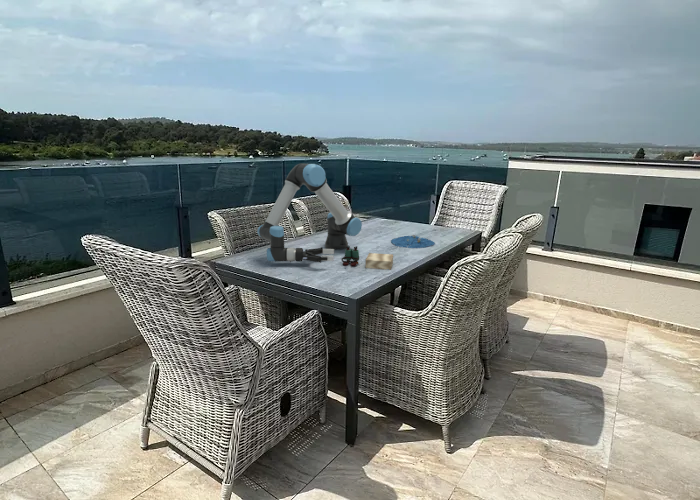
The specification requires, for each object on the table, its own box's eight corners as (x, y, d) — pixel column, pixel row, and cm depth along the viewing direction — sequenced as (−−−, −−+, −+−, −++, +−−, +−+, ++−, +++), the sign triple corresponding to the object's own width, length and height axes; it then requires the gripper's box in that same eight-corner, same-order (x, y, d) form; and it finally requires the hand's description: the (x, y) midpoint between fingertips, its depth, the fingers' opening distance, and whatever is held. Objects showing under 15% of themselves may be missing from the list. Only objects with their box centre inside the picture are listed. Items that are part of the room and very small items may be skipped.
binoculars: (339, 250, 204) (345, 243, 213) (340, 267, 208) (346, 261, 217) (355, 251, 201) (360, 245, 210) (355, 269, 205) (361, 262, 214)
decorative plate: (435, 252, 245) (435, 244, 243) (389, 248, 250) (389, 241, 248) (434, 239, 272) (434, 232, 271) (392, 237, 277) (392, 230, 276)
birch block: (365, 268, 206) (365, 259, 204) (368, 261, 219) (369, 253, 218) (391, 270, 203) (391, 261, 202) (392, 262, 216) (393, 254, 215)
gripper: (298, 254, 221) (334, 255, 221) (292, 268, 197) (333, 268, 197) (297, 242, 219) (334, 242, 219) (292, 254, 195) (333, 254, 195)
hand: (334, 254), depth 208 cm, fingers open, 13 cm apart
